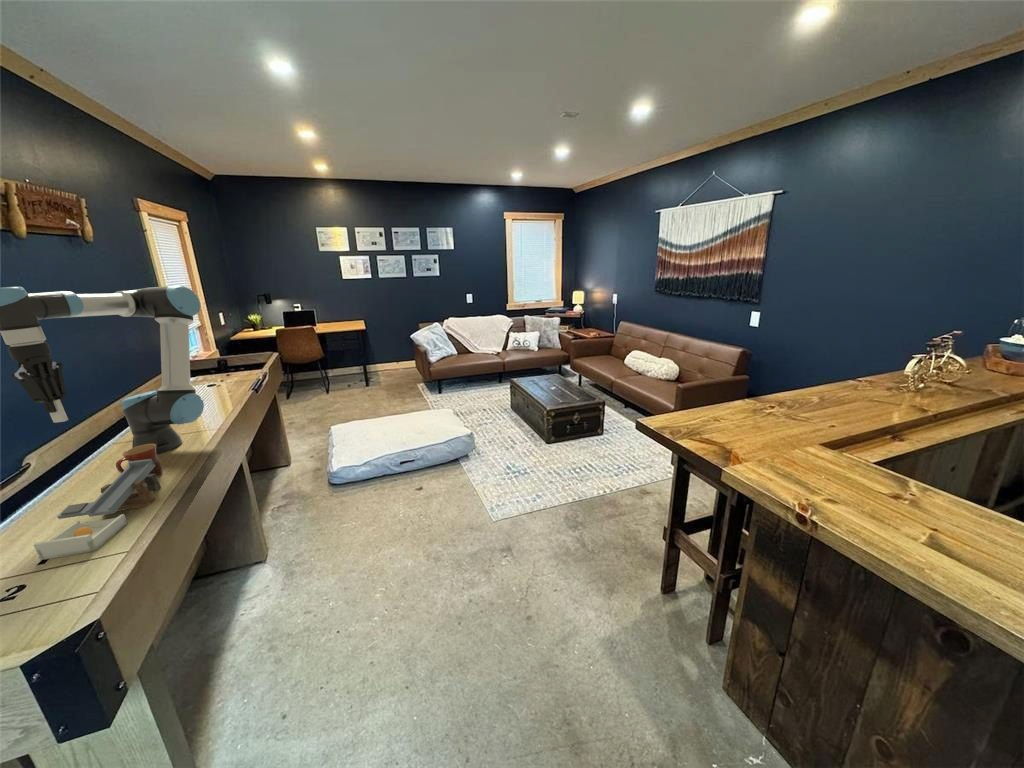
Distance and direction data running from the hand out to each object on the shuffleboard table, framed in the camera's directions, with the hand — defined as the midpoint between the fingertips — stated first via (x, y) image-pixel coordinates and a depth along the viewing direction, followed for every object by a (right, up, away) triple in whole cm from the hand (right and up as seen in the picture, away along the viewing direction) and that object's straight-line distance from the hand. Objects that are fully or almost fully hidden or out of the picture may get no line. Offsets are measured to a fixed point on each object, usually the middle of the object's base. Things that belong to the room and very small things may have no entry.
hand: (61, 421), depth 118 cm
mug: (+8, -22, +19) cm, 30 cm away
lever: (+15, -21, 0) cm, 26 cm away
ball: (+22, -28, -14) cm, 39 cm away
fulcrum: (+19, -25, +5) cm, 31 cm away
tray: (+22, -30, -13) cm, 40 cm away
